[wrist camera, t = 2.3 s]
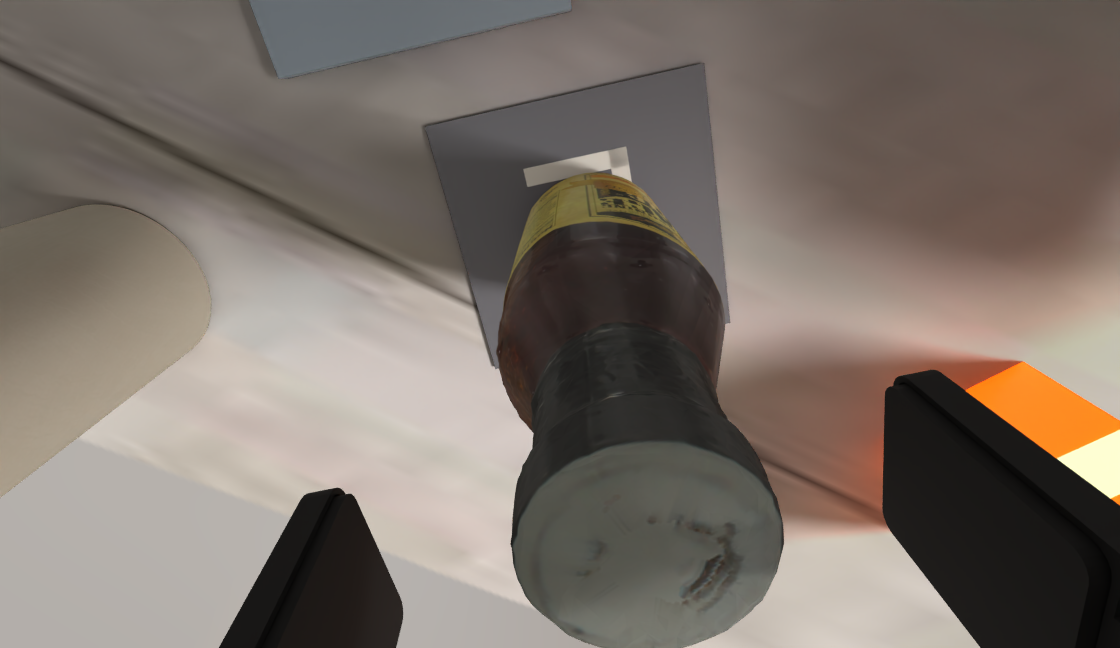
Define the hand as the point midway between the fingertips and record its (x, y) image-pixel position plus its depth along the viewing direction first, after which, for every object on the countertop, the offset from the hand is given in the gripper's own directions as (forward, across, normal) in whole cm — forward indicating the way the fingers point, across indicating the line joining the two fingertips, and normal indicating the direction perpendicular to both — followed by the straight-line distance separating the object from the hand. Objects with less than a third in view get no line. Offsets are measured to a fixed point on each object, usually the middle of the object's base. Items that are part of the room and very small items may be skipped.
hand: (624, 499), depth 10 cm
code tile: (+18, -1, 0) cm, 18 cm away
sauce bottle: (+18, -1, 0) cm, 18 cm away
